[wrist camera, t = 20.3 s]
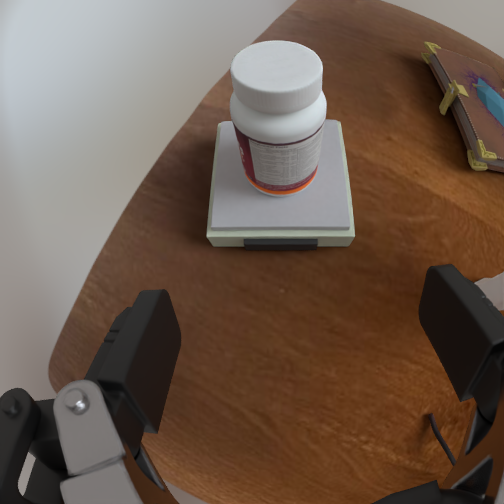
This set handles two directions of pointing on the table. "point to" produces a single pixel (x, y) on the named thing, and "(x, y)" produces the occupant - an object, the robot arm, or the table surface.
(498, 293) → the perfume bottle
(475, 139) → the book
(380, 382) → the table surface
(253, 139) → the pill bottle
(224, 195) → the scale
